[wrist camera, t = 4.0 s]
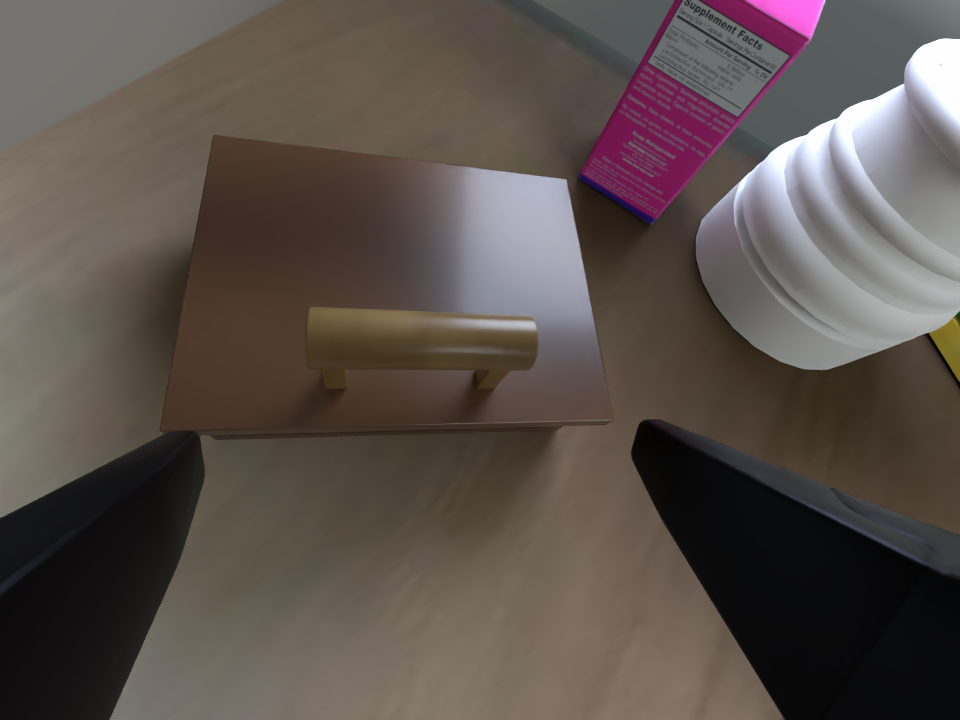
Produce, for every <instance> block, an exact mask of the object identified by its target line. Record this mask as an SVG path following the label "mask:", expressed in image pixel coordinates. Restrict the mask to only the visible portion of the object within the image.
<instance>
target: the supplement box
mask: <svg viewBox="0 0 960 720" xmlns="http://www.w3.org/2000/svg"><path fill="white" fill-rule="evenodd" d="M824 3H825V0H675V1H674V3H673V5H672V6H671V8H670V10H669V12H668V13H667V15H666V17H665V19H664V21H663V23H662V24H661V26H660V28H659V30H658V32H657V34H656V35H655V37H654V39H653V41H652V43H651V45H650V46H649V48H648V50H647V52H646V53H645V55H644V57H643V59H642V61H641V62H640V64H639V66H638V68H637V70H636V72H635V73H634V75H633V77H632V79H631V81H630V83H629V84H628V86H627V88H626V90H625V91H624V93H623V95H622V97H621V99H620V100H619V102H618V104H617V106H616V108H615V110H614V111H613V113H612V115H611V117H610V119H609V121H608V122H607V124H606V126H605V128H604V130H603V131H602V133H601V135H600V137H599V139H598V140H597V142H596V144H595V146H594V148H593V150H592V151H591V153H590V155H589V157H588V159H587V161H586V162H585V164H584V166H583V168H582V170H581V171H580V173H579V175H578V178H579V179H580V180H581V181H583V182H585V183H586V184H588V185H589V186H591V187H592V188H594V189H596V190H597V191H599V192H600V193H602V194H603V195H605V196H607V197H608V198H610V199H611V200H613V201H614V202H616V203H618V204H619V205H621V206H622V207H624V208H625V209H627V210H628V211H630V212H632V213H633V214H635V215H636V216H638V217H639V218H641V219H642V220H643V221H645V222H647V223H648V224H650V225H652V224H653V223H654V222H655V221H656V220H657V218H658V217H659V216H660V215H661V213H662V212H663V211H664V210H665V209H666V208H667V207H668V205H669V204H670V203H671V202H672V201H673V200H674V199H675V197H676V196H677V195H678V194H679V193H680V192H681V191H682V189H683V188H684V187H685V186H686V185H687V184H688V182H689V181H690V180H691V179H692V178H693V177H694V175H695V174H696V173H697V172H698V171H699V169H700V168H701V167H702V166H703V165H704V164H705V163H706V161H707V160H708V159H709V158H710V157H711V156H712V154H713V153H714V152H715V151H716V150H717V149H718V148H719V146H720V145H721V144H722V143H723V142H724V141H725V139H726V138H727V137H728V136H729V135H730V134H731V133H732V131H733V130H734V129H735V128H736V127H737V126H738V124H739V123H740V122H741V121H742V120H743V119H744V118H745V116H746V115H747V114H748V113H749V112H750V111H751V110H752V108H753V107H754V106H755V105H756V104H757V103H758V102H759V100H760V99H761V98H762V97H763V96H764V95H765V93H766V92H767V91H768V90H769V89H770V88H771V87H772V85H773V84H774V83H775V82H776V81H777V79H778V78H779V77H780V76H781V75H782V74H783V73H784V71H785V70H786V69H787V68H788V67H789V66H790V64H791V63H792V62H793V61H794V60H795V59H796V57H797V56H798V55H799V54H800V53H801V51H802V50H803V49H804V48H805V47H806V46H807V45H808V43H809V42H810V40H811V38H812V36H813V33H814V31H815V28H816V25H817V23H818V20H819V17H820V14H821V12H822V9H823V6H824Z"/></svg>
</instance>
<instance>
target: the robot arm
mask: <svg viewBox="0 0 960 720" xmlns="http://www.w3.org/2000/svg"><path fill="white" fill-rule="evenodd" d="M631 456H632V460H633V463H634V465H635V467H636V469H637V471H638V473H639V475H640V477H641V479H642V481H643V483H644V485H645V487H646V489H647V491H648V493H649V495H650V497H651V500H652V502H653V504H654V506H655V508H656V510H657V512H658V513H659V515H660V517H661V519H662V521H663V522H664V524H665V526H666V528H667V529H668V531H669V532H670V534H671V536H672V537H673V539H674V541H675V542H676V544H677V545H678V547H679V549H680V550H681V552H682V554H683V555H684V557H685V558H686V560H687V562H688V563H689V565H690V567H691V568H692V570H693V571H694V573H695V575H696V576H697V578H698V580H699V581H700V583H701V584H702V586H703V588H704V589H705V591H706V593H707V594H708V596H709V597H710V599H711V601H712V602H713V604H714V606H715V607H716V609H717V610H718V612H719V614H720V615H721V617H722V619H723V620H724V622H725V623H726V625H727V627H728V628H729V630H730V632H731V633H732V635H733V636H734V638H735V640H736V641H737V643H738V645H739V646H740V648H741V649H742V651H743V653H744V654H745V656H746V658H747V659H748V661H749V662H750V664H751V666H752V667H753V669H754V671H755V672H756V674H757V675H758V677H759V679H760V680H761V682H762V684H763V685H764V687H765V688H766V690H767V692H768V693H769V695H770V697H771V698H772V700H773V701H774V703H775V705H776V706H777V708H778V709H779V711H780V713H781V714H782V716H783V718H784V719H785V720H960V535H958V534H955V533H952V532H950V531H947V530H944V529H941V528H938V527H936V526H933V525H930V524H927V523H924V522H922V521H919V520H916V519H913V518H911V517H908V516H905V515H903V514H900V513H897V512H894V511H892V510H889V509H886V508H884V507H881V506H878V505H876V504H873V503H871V502H868V501H865V500H863V499H860V498H858V497H855V496H852V495H850V494H847V493H845V492H842V491H840V490H837V489H835V488H829V487H828V486H827V485H824V484H822V483H819V482H817V481H814V480H812V479H809V478H807V477H804V476H802V475H799V474H797V473H794V472H792V471H789V470H786V469H784V468H781V467H779V466H776V465H774V464H771V463H769V462H766V461H764V460H761V459H759V458H756V457H754V456H751V455H748V454H746V453H743V452H741V451H738V450H736V449H733V448H731V447H728V446H726V445H723V444H721V443H718V442H716V441H713V440H711V439H708V438H705V437H703V436H700V435H698V434H695V433H693V432H690V431H688V430H685V429H683V428H680V427H678V426H675V425H673V424H670V423H667V422H665V421H662V420H659V419H648V420H643V421H641V422H640V424H639V426H638V429H637V432H636V436H635V439H634V443H633V446H632V450H631ZM204 478H205V467H204V461H203V454H202V448H201V441H200V437H199V435H198V433H197V432H195V431H171V432H168V433H166V434H164V435H162V436H160V437H158V438H156V439H154V440H152V441H150V442H148V443H146V444H144V445H142V446H140V447H139V448H137V449H135V450H133V451H131V452H129V453H127V454H125V455H123V456H121V457H119V458H117V459H115V460H113V461H111V462H109V463H107V464H105V465H103V466H101V467H99V468H98V469H96V470H94V471H92V472H90V473H88V474H86V475H84V476H82V477H80V478H78V479H76V480H74V481H72V482H70V483H68V484H66V485H64V486H62V487H60V488H58V489H56V490H55V491H53V492H51V493H49V494H47V495H45V496H43V497H41V498H39V499H37V500H35V501H33V502H31V503H29V504H27V505H25V506H23V507H21V508H19V509H17V510H15V511H14V512H12V513H10V514H8V515H6V516H4V517H2V518H0V720H109V719H110V717H111V715H112V713H113V710H114V708H115V706H116V704H117V701H118V699H119V697H120V695H121V692H122V690H123V688H124V686H125V683H126V681H127V679H128V677H129V674H130V672H131V670H132V667H133V665H134V663H135V661H136V658H137V656H138V654H139V652H140V649H141V647H142V645H143V643H144V640H145V638H146V636H147V634H148V631H149V629H150V627H151V625H152V622H153V620H154V618H155V615H156V613H157V611H158V609H159V606H160V604H161V602H162V600H163V597H164V595H165V593H166V591H167V588H168V586H169V584H170V582H171V579H172V577H173V575H174V572H175V570H176V568H177V565H178V563H179V560H180V557H181V554H182V551H183V548H184V545H185V542H186V539H187V535H188V532H189V529H190V526H191V522H192V519H193V516H194V512H195V509H196V506H197V503H198V499H199V496H200V493H201V489H202V486H203V483H204Z"/></svg>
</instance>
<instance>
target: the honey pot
mask: <svg viewBox="0 0 960 720" xmlns="http://www.w3.org/2000/svg"><path fill="white" fill-rule="evenodd" d="M696 260H697V264H698V267H699V271H700V275H701V278H702V282H703V283H704V285H705V287H706V289H707V291H708V293H709V295H710V297H711V299H712V301H713V302H714V304H715V306H716V307H717V308H718V310H719V311H720V312H721V313H722V315H723V316H724V317H725V318H726V320H727V321H728V322H729V323H730V325H731V326H732V327H733V328H734V329H735V330H736V331H737V332H738V333H739V334H741V335H742V336H743V337H744V338H745V339H746V340H747V341H749V342H750V343H751V344H752V345H753V346H754V347H756V348H757V349H759V350H761V351H763V352H764V353H766V354H768V355H769V356H771V357H773V358H774V359H776V360H778V361H780V362H783V363H786V364H789V365H792V366H795V367H798V368H801V369H811V370H828V369H831V368H834V367H837V366H840V365H844V364H846V363H849V362H852V361H854V360H857V359H860V358H863V357H865V356H868V355H871V354H873V353H876V352H879V351H881V350H884V349H887V348H890V347H892V346H895V345H898V344H900V343H902V342H904V341H908V340H911V339H914V338H915V337H917V336H920V335H923V334H926V333H929V332H933V331H935V330H937V329H939V328H940V327H942V326H944V325H945V324H947V323H948V322H949V321H950V320H951V319H952V318H953V317H954V316H955V315H956V314H957V313H958V312H959V311H960V40H957V39H940V40H938V41H935V42H932V43H929V44H927V45H924V46H922V47H921V48H919V49H918V50H917V51H916V52H915V53H914V55H913V56H912V58H911V59H910V60H909V62H908V63H907V65H906V68H905V77H904V84H902V85H900V86H898V87H897V88H894V89H892V90H891V91H889V92H887V93H885V94H883V95H881V96H879V97H877V98H875V99H873V100H867V101H864V102H861V103H858V104H856V105H854V106H851V107H849V108H848V109H846V110H844V111H843V113H842V114H841V115H840V117H839V118H838V119H834V120H831V121H829V122H827V123H824V124H822V125H820V126H818V127H816V128H815V129H813V130H811V131H810V132H809V134H808V135H806V136H802V137H798V138H796V139H793V140H791V141H789V142H787V143H784V144H782V145H781V146H779V147H778V148H776V149H775V150H773V151H772V152H771V153H770V154H769V155H768V156H767V158H766V159H765V160H764V161H763V162H761V163H760V164H758V165H757V166H756V168H755V169H754V170H753V171H752V172H750V173H749V174H748V175H747V176H746V177H744V178H743V179H742V180H741V181H740V182H739V183H738V184H737V185H736V186H735V187H734V188H733V189H732V190H731V191H730V192H729V193H728V194H727V195H726V196H725V197H724V198H722V199H721V200H720V201H719V202H718V203H717V204H716V205H715V206H714V207H713V208H712V209H711V210H710V211H709V213H708V214H707V215H706V216H705V217H704V218H703V219H702V221H701V224H700V227H699V230H698V232H697V235H696Z"/></svg>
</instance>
